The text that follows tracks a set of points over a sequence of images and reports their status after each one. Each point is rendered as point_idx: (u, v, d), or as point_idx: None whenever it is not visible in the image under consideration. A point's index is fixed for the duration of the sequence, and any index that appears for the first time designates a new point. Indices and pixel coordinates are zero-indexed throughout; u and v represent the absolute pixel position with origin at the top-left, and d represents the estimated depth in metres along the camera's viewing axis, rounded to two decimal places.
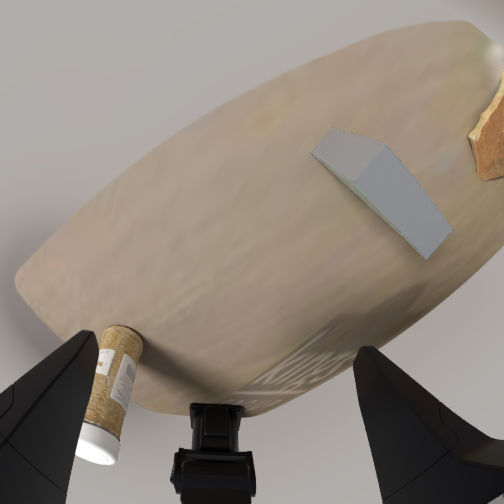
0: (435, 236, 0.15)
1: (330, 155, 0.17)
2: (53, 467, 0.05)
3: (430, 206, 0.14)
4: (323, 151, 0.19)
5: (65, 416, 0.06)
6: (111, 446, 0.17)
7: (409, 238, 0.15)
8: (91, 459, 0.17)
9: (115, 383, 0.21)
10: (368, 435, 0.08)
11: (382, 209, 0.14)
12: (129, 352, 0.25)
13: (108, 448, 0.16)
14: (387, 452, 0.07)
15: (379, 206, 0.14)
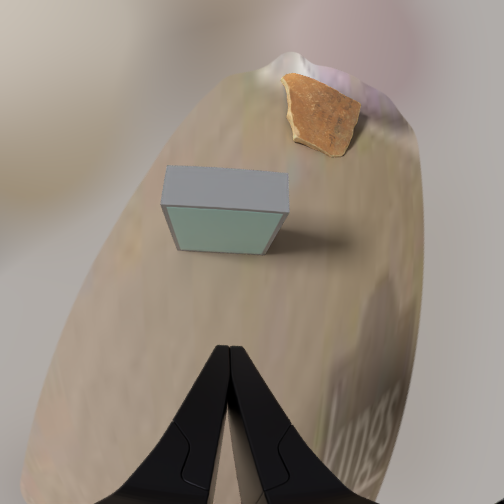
0: (275, 189, 0.17)
1: None
2: (213, 498, 0.05)
3: (244, 173, 0.17)
4: None
5: (221, 441, 0.07)
6: None
7: (249, 207, 0.16)
8: None
9: None
10: (232, 446, 0.07)
11: (200, 204, 0.16)
12: None
13: None
14: (239, 469, 0.06)
15: (196, 204, 0.16)
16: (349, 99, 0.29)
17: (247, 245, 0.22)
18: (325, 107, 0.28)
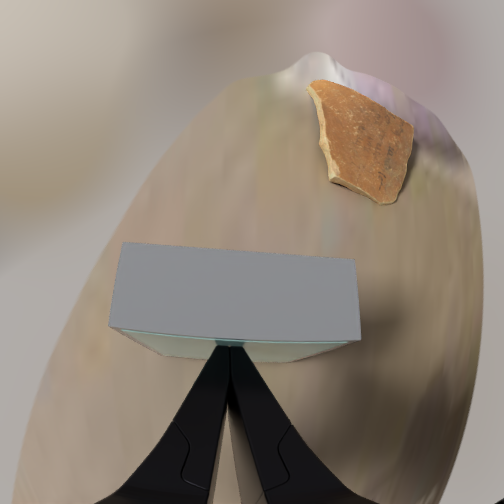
0: (335, 294, 0.08)
1: None
2: (213, 498, 0.05)
3: (274, 263, 0.09)
4: None
5: (221, 441, 0.07)
6: None
7: (288, 337, 0.08)
8: None
9: None
10: (232, 446, 0.07)
11: (187, 332, 0.08)
12: None
13: None
14: (239, 469, 0.06)
15: (178, 331, 0.07)
16: (400, 120, 0.20)
17: (267, 359, 0.13)
18: (371, 131, 0.20)
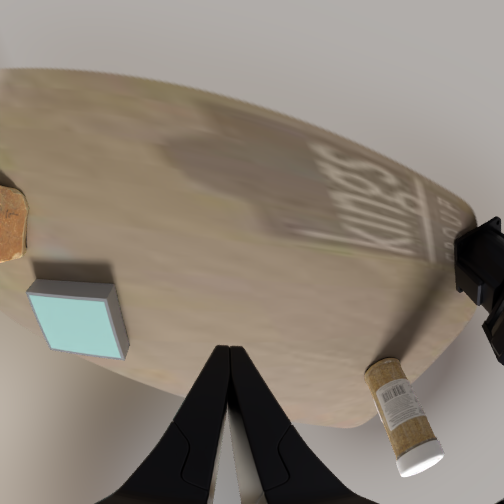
0: None
1: None
2: (213, 498, 0.05)
3: None
4: None
5: (221, 441, 0.07)
6: (411, 459, 0.18)
7: (33, 310, 0.21)
8: (435, 461, 0.18)
9: (386, 418, 0.24)
10: (232, 446, 0.07)
11: (42, 332, 0.23)
12: (376, 386, 0.27)
13: (410, 464, 0.18)
14: (239, 469, 0.06)
15: (43, 334, 0.23)
16: None
17: (86, 313, 0.22)
18: None
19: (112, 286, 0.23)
